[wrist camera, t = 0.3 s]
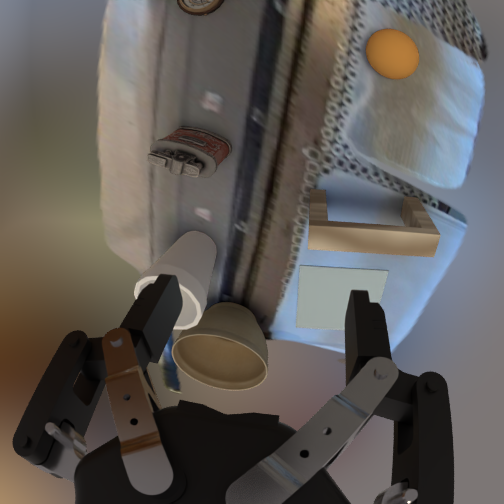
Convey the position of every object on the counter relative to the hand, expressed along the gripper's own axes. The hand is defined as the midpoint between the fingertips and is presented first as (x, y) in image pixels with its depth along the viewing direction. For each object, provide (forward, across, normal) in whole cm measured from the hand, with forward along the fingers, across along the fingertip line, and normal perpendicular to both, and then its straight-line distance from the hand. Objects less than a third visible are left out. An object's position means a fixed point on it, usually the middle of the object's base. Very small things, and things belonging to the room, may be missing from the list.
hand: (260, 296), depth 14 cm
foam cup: (+28, +15, +17) cm, 36 cm away
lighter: (+28, +12, 0) cm, 31 cm away
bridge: (+28, -10, +8) cm, 31 cm away
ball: (+25, -11, -12) cm, 30 cm away
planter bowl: (+28, +10, +33) cm, 44 cm away
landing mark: (+28, -8, +26) cm, 39 cm away
